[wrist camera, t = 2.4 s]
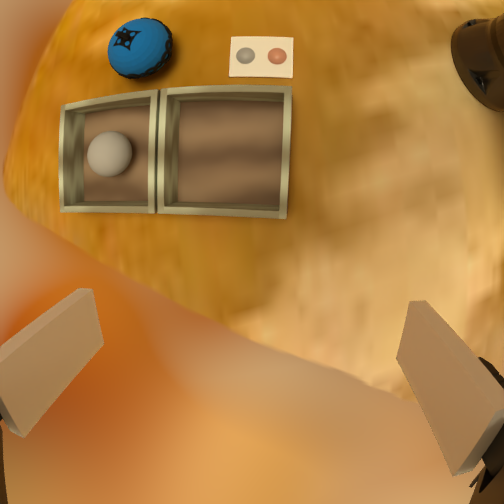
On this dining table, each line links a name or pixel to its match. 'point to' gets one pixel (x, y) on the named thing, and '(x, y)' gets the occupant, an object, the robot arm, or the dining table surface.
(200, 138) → the two-compartment wooden tray
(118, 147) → the ball
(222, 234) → the dining table surface
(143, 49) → the ornament
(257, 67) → the card
